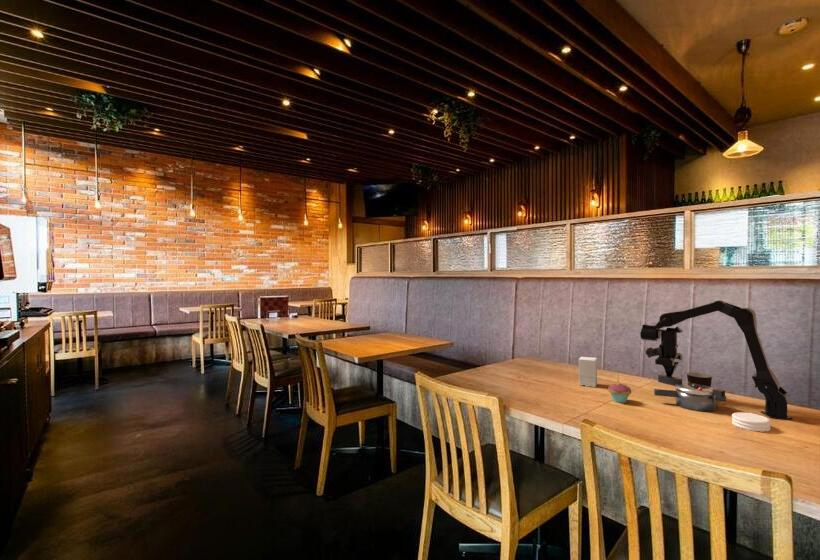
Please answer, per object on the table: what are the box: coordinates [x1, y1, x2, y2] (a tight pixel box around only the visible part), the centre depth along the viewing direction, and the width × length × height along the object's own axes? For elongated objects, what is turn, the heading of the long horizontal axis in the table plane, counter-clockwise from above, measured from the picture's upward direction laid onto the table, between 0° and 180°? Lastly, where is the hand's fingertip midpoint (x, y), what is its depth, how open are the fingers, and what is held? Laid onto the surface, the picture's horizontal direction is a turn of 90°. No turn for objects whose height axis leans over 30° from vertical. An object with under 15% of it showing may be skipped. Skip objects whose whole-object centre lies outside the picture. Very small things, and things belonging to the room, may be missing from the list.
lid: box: [657, 374, 726, 397], centre depth 160 cm, size 24×14×3 cm, turn 23°
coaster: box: [731, 411, 771, 433], centre depth 137 cm, size 10×10×4 cm
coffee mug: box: [686, 372, 713, 387], centre depth 169 cm, size 12×9×10 cm
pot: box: [653, 388, 727, 413], centre depth 159 cm, size 24×13×6 cm, turn 68°
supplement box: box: [578, 356, 598, 388], centre depth 191 cm, size 7×7×13 cm
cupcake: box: [607, 373, 632, 404], centre depth 166 cm, size 9×8×12 cm
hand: (669, 378), depth 171 cm, fingers closed
